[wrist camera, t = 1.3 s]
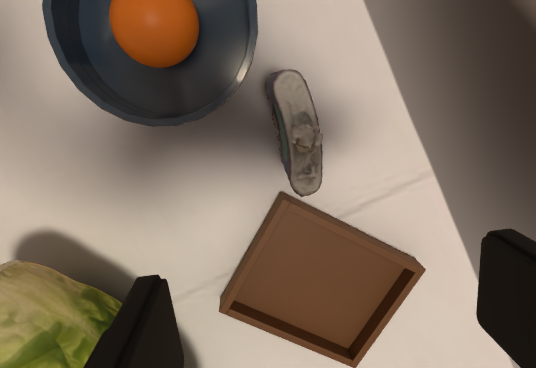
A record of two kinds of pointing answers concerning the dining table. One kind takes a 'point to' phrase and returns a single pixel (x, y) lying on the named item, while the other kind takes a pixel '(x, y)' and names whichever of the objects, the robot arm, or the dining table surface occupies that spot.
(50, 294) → the lettuce
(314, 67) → the dining table surface
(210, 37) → the bowl
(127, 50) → the mandarin
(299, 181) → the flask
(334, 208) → the dining table surface
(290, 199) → the tray
